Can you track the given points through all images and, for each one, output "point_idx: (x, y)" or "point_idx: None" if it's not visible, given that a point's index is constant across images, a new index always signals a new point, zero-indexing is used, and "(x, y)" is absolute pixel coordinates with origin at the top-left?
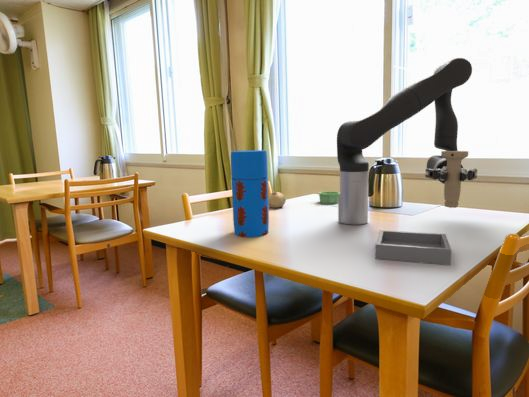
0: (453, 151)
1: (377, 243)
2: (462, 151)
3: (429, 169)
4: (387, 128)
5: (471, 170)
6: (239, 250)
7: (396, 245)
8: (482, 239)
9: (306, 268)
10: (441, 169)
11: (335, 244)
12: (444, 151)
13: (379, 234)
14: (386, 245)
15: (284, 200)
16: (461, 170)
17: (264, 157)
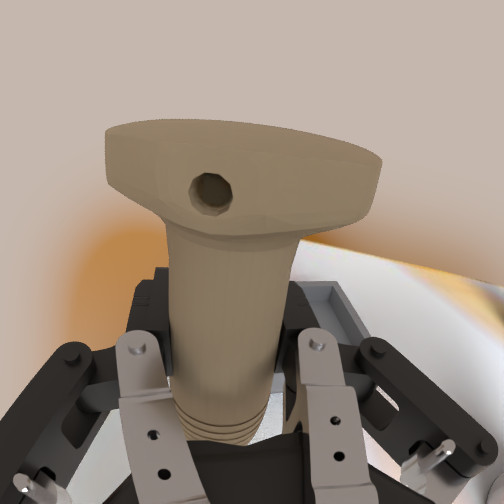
0: (256, 134)
1: (336, 284)
2: (163, 128)
3: (443, 394)
4: None
5: (66, 349)
6: (466, 284)
7: (306, 283)
8: (110, 494)
9: (375, 262)
10: (346, 386)
11: (422, 339)
12: (341, 144)
13: (364, 328)
14: (320, 281)
15: None
16: (145, 380)
17: None
